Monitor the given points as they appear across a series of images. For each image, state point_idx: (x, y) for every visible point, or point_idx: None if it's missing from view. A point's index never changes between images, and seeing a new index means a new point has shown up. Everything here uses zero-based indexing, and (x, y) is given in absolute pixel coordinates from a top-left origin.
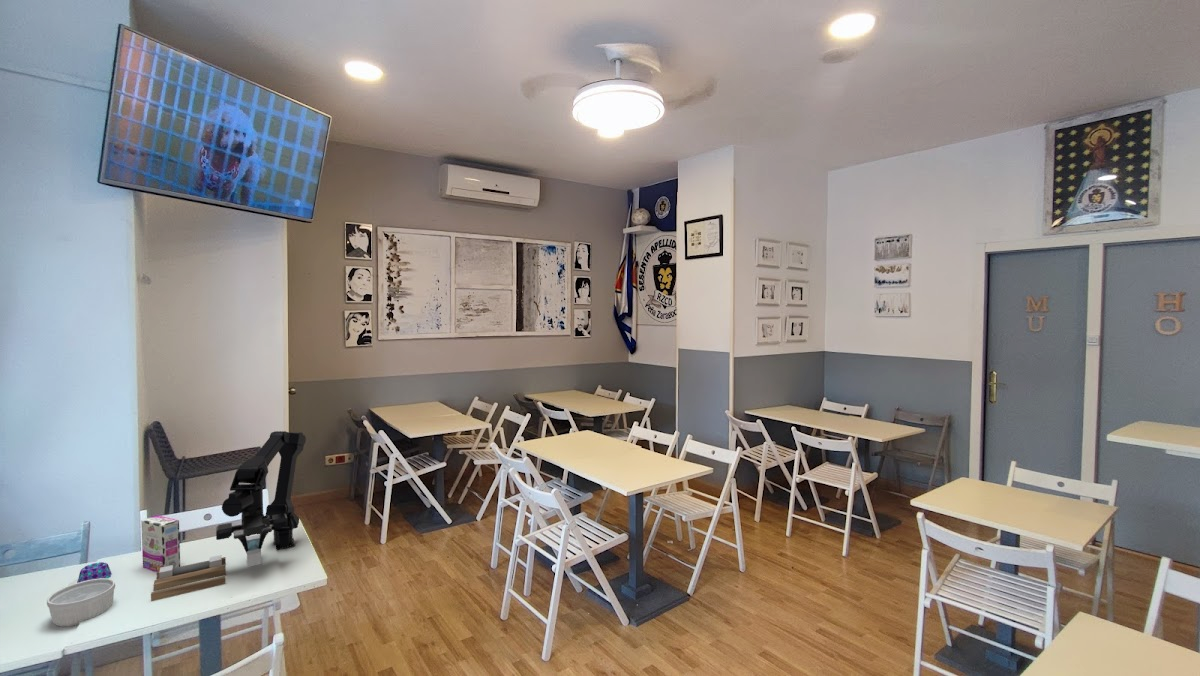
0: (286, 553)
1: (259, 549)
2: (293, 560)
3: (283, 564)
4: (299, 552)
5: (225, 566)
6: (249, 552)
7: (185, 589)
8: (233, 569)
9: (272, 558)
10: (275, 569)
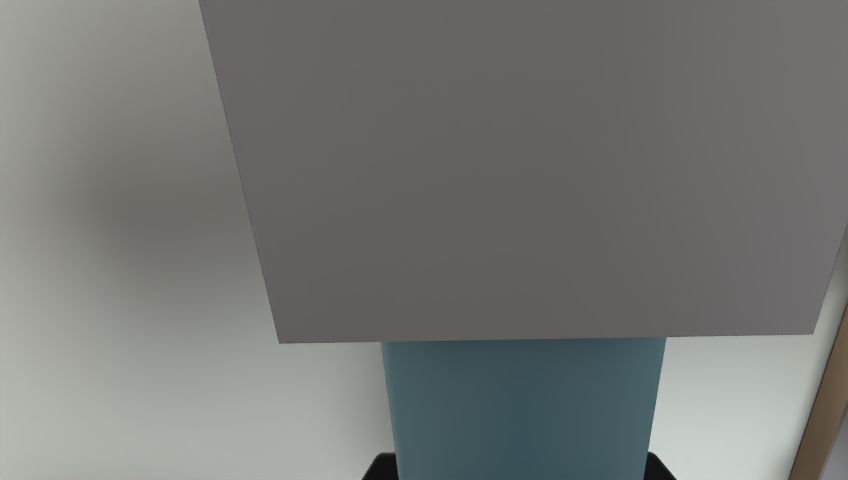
0: (153, 476)
1: (316, 279)
2: (3, 274)
3: (111, 218)
4: (3, 439)
5: (835, 445)
6: (745, 176)
7: None
8: (730, 378)
9: (291, 436)
10: (193, 106)
